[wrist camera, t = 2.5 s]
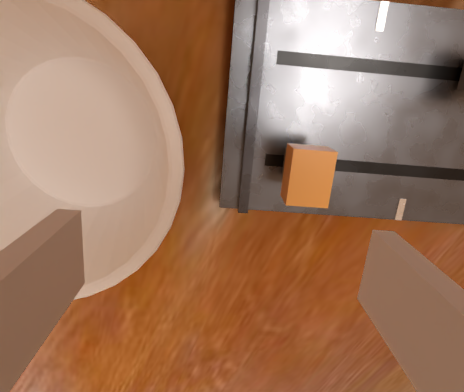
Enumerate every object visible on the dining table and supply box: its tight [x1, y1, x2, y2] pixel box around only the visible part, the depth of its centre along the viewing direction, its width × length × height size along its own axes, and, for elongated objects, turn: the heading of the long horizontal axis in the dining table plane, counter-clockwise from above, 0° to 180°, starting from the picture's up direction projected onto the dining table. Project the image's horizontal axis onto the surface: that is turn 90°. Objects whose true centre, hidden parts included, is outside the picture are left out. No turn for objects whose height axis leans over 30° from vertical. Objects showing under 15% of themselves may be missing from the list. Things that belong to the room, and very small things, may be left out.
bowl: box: [0, 0, 185, 299], centre depth 25 cm, size 19×19×11 cm
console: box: [219, 0, 464, 224], centre depth 29 cm, size 17×26×3 cm, turn 85°
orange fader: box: [280, 143, 338, 208], centre depth 26 cm, size 4×3×5 cm
